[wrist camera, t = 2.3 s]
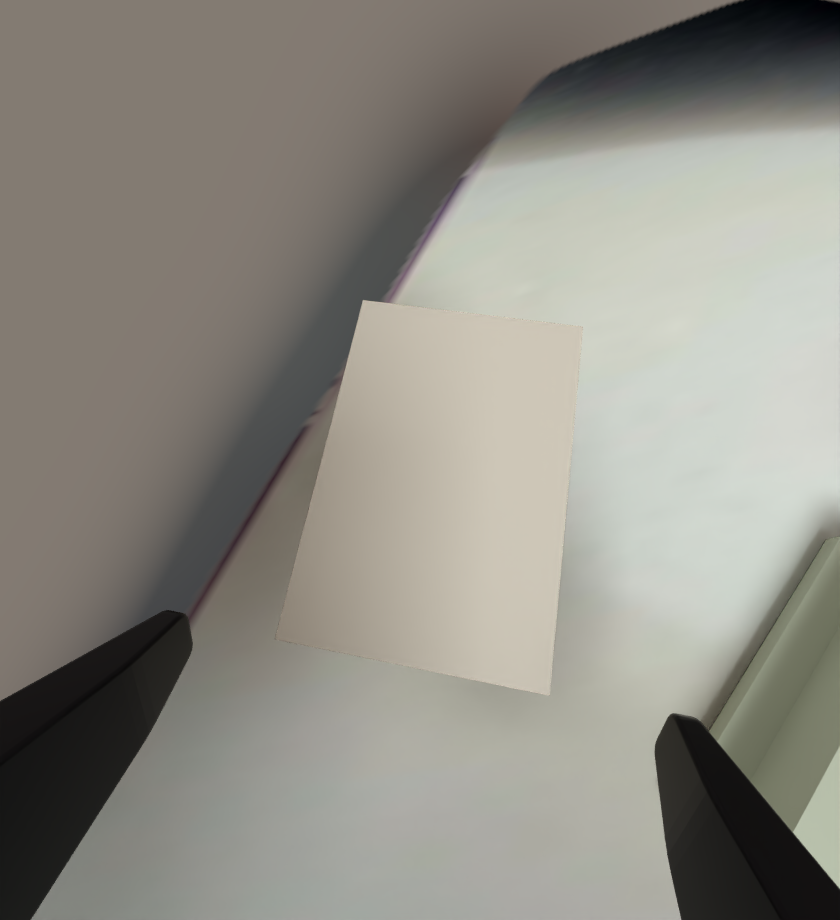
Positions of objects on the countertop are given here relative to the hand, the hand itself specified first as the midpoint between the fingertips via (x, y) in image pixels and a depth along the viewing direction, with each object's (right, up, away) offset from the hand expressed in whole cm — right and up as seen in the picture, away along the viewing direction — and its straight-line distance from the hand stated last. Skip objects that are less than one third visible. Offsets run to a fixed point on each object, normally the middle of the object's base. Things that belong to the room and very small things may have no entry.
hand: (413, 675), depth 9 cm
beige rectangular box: (+1, 0, +11) cm, 11 cm away
